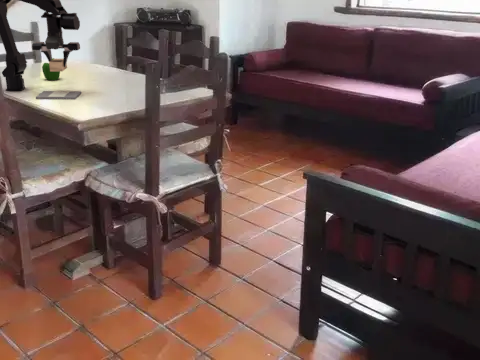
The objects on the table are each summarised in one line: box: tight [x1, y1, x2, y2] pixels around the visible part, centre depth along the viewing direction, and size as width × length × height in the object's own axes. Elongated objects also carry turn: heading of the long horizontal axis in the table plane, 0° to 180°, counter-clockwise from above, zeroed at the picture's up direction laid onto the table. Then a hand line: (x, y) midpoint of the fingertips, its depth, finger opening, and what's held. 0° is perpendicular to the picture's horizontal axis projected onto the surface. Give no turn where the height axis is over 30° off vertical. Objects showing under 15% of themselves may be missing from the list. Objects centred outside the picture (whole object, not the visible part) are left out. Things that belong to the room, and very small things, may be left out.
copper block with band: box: [48, 58, 68, 73], centre depth 234 cm, size 9×5×4 cm, turn 4°
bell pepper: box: [41, 57, 61, 81], centre depth 262 cm, size 8×8×10 cm
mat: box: [35, 90, 82, 100], centre depth 231 cm, size 16×12×1 cm
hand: (58, 66), depth 234 cm, fingers closed on copper block with band, 5 cm apart
